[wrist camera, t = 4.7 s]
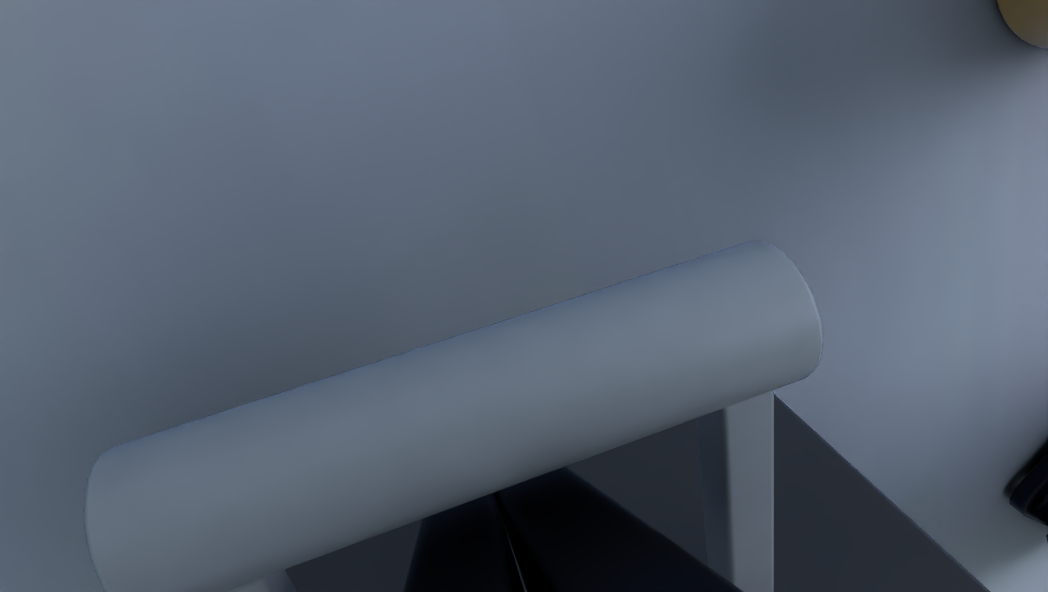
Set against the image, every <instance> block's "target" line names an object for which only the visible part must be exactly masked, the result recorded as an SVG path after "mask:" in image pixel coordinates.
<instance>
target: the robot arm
mask: <svg viewBox="0 0 1048 592" xmlns="http://www.w3.org/2000/svg"><path fill="white" fill-rule="evenodd" d="M1009 501H1010V504H1011V505H1012V506H1013V507H1014V508H1016V509H1017V510H1018V511H1020V512H1021V513H1022V514H1023V515H1025V516H1026V517H1029V518H1031V519H1033V520H1036V521H1038V522H1040V523H1043V524H1045V525H1047V526H1048V453H1047V454H1046V455H1045V456H1044V457H1043V458H1042V460H1041V461H1040V462H1039V463H1038V464H1037V465H1036V466H1035V467H1034V468H1033V469H1032V471H1031V472H1030V473H1029V474H1028V475H1027V476H1026V477H1025V478H1024V479H1023V480H1022V481H1021V483H1020V484H1019V485H1018V486H1017V487H1016V488H1015V490H1014V491H1013V492H1012V494H1011V496H1010V499H1009ZM506 532H507V533H506ZM507 535H508V536H507ZM1046 537H1047V541H1048V534H1047V536H1046ZM508 538H509V539H508ZM509 541H510V542H509ZM510 544H511V546H510ZM511 547H512V549H511ZM512 550H513V552H512ZM513 553H514V555H515V558H516V561H517V564H518V567H519V570H520V573H521V576H522V579H523V582H524V585H525V587H526V590H527V592H744V591H742V590H741V589H739V588H738V587H737V586H735V585H734V584H732V583H731V582H730V581H728V580H727V579H725V578H724V577H722V576H721V575H720V574H718V573H717V572H715V571H714V570H713V569H711V568H710V567H708V566H707V565H706V564H704V563H703V562H701V561H700V560H698V559H697V558H696V557H694V556H693V555H691V554H690V553H689V552H687V551H686V550H684V549H683V548H682V547H680V546H679V545H677V544H676V543H674V542H673V541H672V540H670V539H669V538H667V537H666V536H665V535H663V534H662V533H660V532H659V531H658V530H656V529H655V528H653V527H652V526H650V525H649V524H648V523H646V522H645V521H643V520H642V519H641V518H639V517H638V516H636V515H635V514H634V513H632V512H631V511H629V510H628V509H626V508H625V507H624V506H622V505H621V504H619V503H618V502H617V501H615V500H614V499H612V498H611V497H610V496H608V495H607V494H605V493H604V492H602V491H601V490H600V489H598V488H597V487H595V486H594V485H593V484H591V483H590V482H588V481H587V480H586V479H584V478H583V477H581V476H580V475H578V474H577V473H576V472H574V471H573V470H571V469H570V468H569V467H567V466H565V467H562V468H559V469H556V470H554V471H551V472H548V473H546V474H543V475H540V476H537V477H535V478H532V479H529V480H527V481H524V482H521V483H518V484H516V485H513V486H510V487H507V488H505V489H502V490H499V491H497V492H494V493H491V494H488V495H486V496H483V497H480V498H478V499H475V500H472V501H469V502H467V503H464V504H461V505H458V506H456V507H453V508H450V509H448V510H445V511H442V512H439V513H437V514H434V515H431V516H429V517H426V518H423V519H422V520H421V524H420V528H419V531H418V535H417V539H416V543H415V547H414V551H413V554H412V558H411V562H410V566H409V570H408V574H407V577H406V581H405V585H404V589H403V592H525V591H524V588H523V584H522V581H521V578H520V575H519V571H518V568H517V565H516V562H515V558H514V555H513Z"/></svg>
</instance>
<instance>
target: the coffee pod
mask: <svg viewBox="0 0 1048 592" xmlns="http://www.w3.org/2000/svg"><path fill="white" fill-rule="evenodd" d="M997 3H998V6H999V10H1000V12H1001V14H1002V16H1003V18H1004V20H1005V22H1006V23H1007V25H1008V26H1009V28H1010V29H1011V30H1012V31H1013V32H1014V33H1015V34H1016V35H1017V36H1018V37H1019V38H1021V39H1022V40H1024V41H1026V42H1027V43H1029V44H1031V45H1034V46H1037V47H1040V48H1047V49H1048V0H997Z"/></svg>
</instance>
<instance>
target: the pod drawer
mask: <svg viewBox="0 0 1048 592" xmlns="http://www.w3.org/2000/svg"><path fill="white" fill-rule="evenodd" d="M822 346H823V334H822V325H821V320H820V315H819V312H818V308H817V305H816V302H815V300H814V297H813V295H812V292H811V290H810V288H809V286H808V284H807V282H806V281H805V279H804V277H803V275H802V274H801V272H800V271H799V269H798V268H797V267H796V266H795V264H794V263H793V262H792V261H791V260H790V258H789V257H788V256H787V255H786V254H784V253H783V252H782V251H781V250H780V249H778V248H777V247H775V246H773V245H771V244H769V243H766V242H762V241H748V242H745V243H742V244H739V245H736V246H733V247H730V248H727V249H724V250H721V251H717V252H714V253H711V254H708V255H705V256H702V257H699V258H696V259H693V260H690V261H687V262H683V263H680V264H677V265H674V266H671V267H668V268H665V269H662V270H659V271H656V272H652V273H649V274H646V275H643V276H640V277H637V278H634V279H631V280H628V281H625V282H622V283H618V284H615V285H612V286H609V287H606V288H603V289H600V290H597V291H594V292H591V293H588V294H584V295H581V296H578V297H575V298H572V299H569V300H566V301H563V302H560V303H557V304H553V305H550V306H547V307H544V308H541V309H538V310H535V311H532V312H529V313H526V314H523V315H519V316H516V317H513V318H510V319H507V320H504V321H501V322H498V323H495V324H492V325H489V326H485V327H482V328H479V329H476V330H473V331H470V332H467V333H464V334H461V335H458V336H455V337H451V338H448V339H445V340H442V341H439V342H436V343H433V344H430V345H427V346H424V347H420V348H417V349H414V350H411V351H408V352H405V353H402V354H399V355H396V356H393V357H390V358H386V359H383V360H380V361H377V362H374V363H371V364H368V365H365V366H362V367H359V368H356V369H352V370H349V371H346V372H343V373H340V374H337V375H334V376H331V377H328V378H325V379H321V380H318V381H315V382H312V383H309V384H306V385H303V386H300V387H297V388H294V389H291V390H287V391H284V392H281V393H278V394H275V395H272V396H269V397H266V398H263V399H260V400H257V401H253V402H250V403H247V404H244V405H241V406H238V407H235V408H232V409H229V410H226V411H222V412H219V413H216V414H213V415H210V416H207V417H204V418H201V419H198V420H195V421H192V422H188V423H185V424H182V425H179V426H176V427H173V428H170V429H167V430H164V431H161V432H158V433H154V434H151V435H148V436H145V437H142V438H139V439H136V440H133V441H130V442H127V443H124V444H120V445H117V446H114V447H112V448H110V449H108V450H107V451H105V452H104V453H103V454H102V455H101V456H100V457H98V459H97V460H96V461H95V463H94V464H93V466H92V468H91V470H90V473H89V476H88V478H87V483H86V487H85V494H84V509H83V512H84V527H85V535H86V540H87V545H88V549H89V553H90V557H91V560H92V563H93V566H94V568H95V571H96V573H97V576H98V578H99V580H100V582H101V584H102V586H103V587H104V589H105V591H106V592H403V589H404V585H405V581H406V577H407V574H408V570H409V566H410V562H411V558H412V554H413V551H414V547H415V543H416V539H417V535H418V531H419V528H420V524H421V520H422V519H423V518H426V517H429V516H431V515H434V514H437V513H439V512H442V511H445V510H448V509H450V508H453V507H456V506H458V505H461V504H464V503H467V502H469V501H472V500H475V499H478V498H480V497H483V496H486V495H488V494H491V493H494V492H497V491H499V490H502V489H505V488H507V487H510V486H513V485H516V484H518V483H521V482H524V481H527V480H529V479H532V478H535V477H537V476H540V475H543V474H546V473H548V472H551V471H554V470H556V469H559V468H562V467H565V466H567V467H569V468H570V469H571V470H573V471H574V472H576V473H577V474H578V475H580V476H581V477H583V478H584V479H586V480H587V481H588V482H590V483H591V484H593V485H594V486H595V487H597V488H598V489H600V490H601V491H602V492H604V493H605V494H607V495H608V496H610V497H611V498H612V499H614V500H615V501H617V502H618V503H619V504H621V505H622V506H624V507H625V508H626V509H628V510H629V511H631V512H632V513H634V514H635V515H636V516H638V517H639V518H641V519H642V520H643V521H645V522H646V523H648V524H649V525H650V526H652V527H653V528H655V529H656V530H658V531H659V532H660V533H662V534H663V535H665V536H666V537H667V538H669V539H670V540H672V541H673V542H674V543H676V544H677V545H679V546H680V547H682V548H683V549H684V550H686V551H687V552H689V553H690V554H691V555H693V556H694V557H696V558H697V559H698V560H700V561H701V562H703V563H704V564H706V565H707V566H708V567H710V568H711V569H713V570H714V571H715V572H717V573H718V574H720V575H721V576H722V577H724V578H725V579H727V580H728V581H730V582H731V583H732V584H734V585H735V586H737V587H738V588H739V589H741V590H742V591H744V592H990V591H989V590H988V589H987V588H986V587H985V586H984V585H982V584H981V583H980V582H979V581H978V580H977V579H976V578H975V577H974V576H973V575H971V574H970V573H969V572H968V571H967V570H966V569H965V568H964V567H963V566H962V565H961V564H959V563H958V562H957V561H956V560H955V559H954V558H953V557H952V556H951V555H950V554H949V553H947V552H946V551H945V550H944V549H943V548H942V547H941V546H940V545H939V544H938V543H936V542H935V541H934V540H933V539H932V538H931V537H930V536H929V535H928V534H927V533H926V532H924V531H923V530H922V529H921V528H920V527H919V526H918V525H917V524H916V523H915V522H913V521H912V520H911V519H910V518H909V517H908V516H907V515H906V514H905V513H904V512H903V511H901V510H900V509H899V508H898V507H897V506H896V505H895V504H894V503H893V502H892V501H890V500H889V499H888V498H887V497H886V496H885V495H884V494H883V493H882V492H881V491H880V490H878V489H877V488H876V487H875V486H874V485H873V484H872V483H871V482H870V481H869V480H867V479H866V478H865V477H864V476H863V475H862V474H861V473H860V472H859V471H858V470H857V469H855V468H854V467H853V466H852V465H851V464H850V463H849V462H848V461H847V460H846V459H844V458H843V457H842V456H841V455H840V454H839V453H838V452H837V451H836V450H835V449H834V448H832V447H831V446H830V445H829V444H828V443H827V442H826V441H825V440H824V439H823V438H822V437H820V436H819V435H818V434H817V433H816V432H815V431H814V430H813V429H812V428H811V427H809V426H808V425H807V424H806V423H805V422H804V421H803V420H802V419H801V418H800V417H799V416H797V415H796V414H795V413H794V412H793V411H792V410H791V409H790V408H789V407H788V406H786V405H785V404H784V403H783V402H782V401H781V400H780V399H779V398H778V397H777V396H776V395H774V394H773V391H772V390H774V389H777V388H780V387H782V386H785V385H788V384H791V383H793V382H796V381H799V380H801V379H804V378H806V377H808V376H809V375H810V374H811V373H812V372H813V371H814V370H815V368H816V367H817V365H818V363H819V361H820V358H821V354H822ZM506 533H507V532H506ZM507 536H508V535H507ZM508 539H509V538H508ZM509 542H510V541H509ZM510 546H511V544H510ZM511 549H512V547H511ZM512 552H513V550H512ZM513 555H514V553H513ZM514 558H515V555H514ZM515 562H516V565H517V568H518V571H519V575H520V578H521V581H522V584H523V588H524V591H525V592H527V590H526V587H525V585H524V582H523V579H522V576H521V573H520V570H519V567H518V564H517V561H516V558H515Z"/></svg>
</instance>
